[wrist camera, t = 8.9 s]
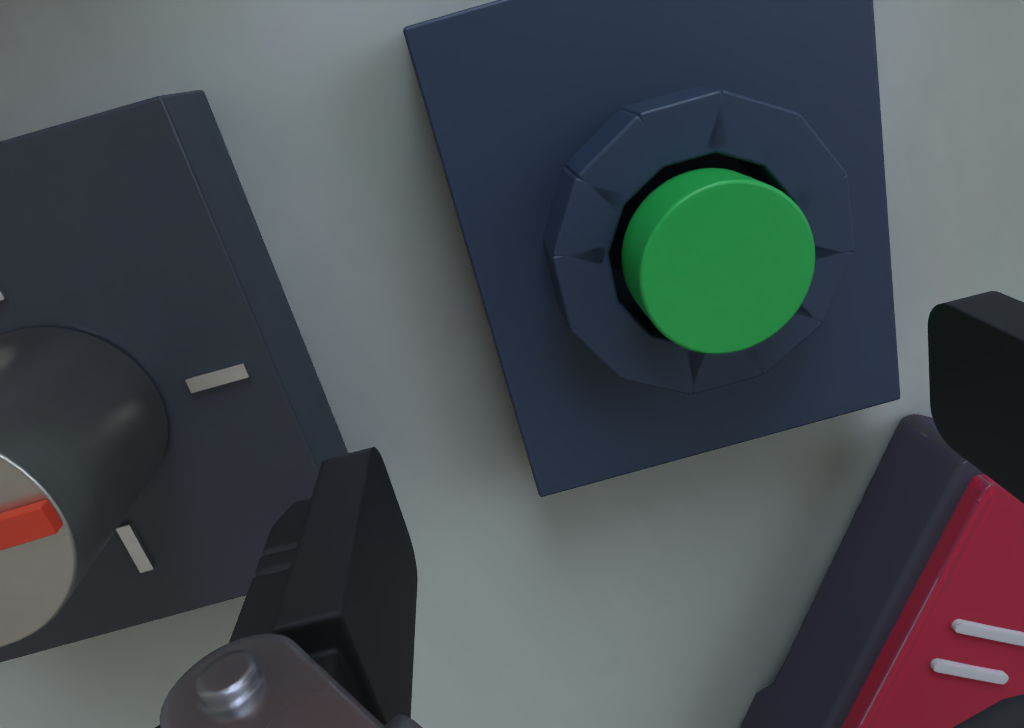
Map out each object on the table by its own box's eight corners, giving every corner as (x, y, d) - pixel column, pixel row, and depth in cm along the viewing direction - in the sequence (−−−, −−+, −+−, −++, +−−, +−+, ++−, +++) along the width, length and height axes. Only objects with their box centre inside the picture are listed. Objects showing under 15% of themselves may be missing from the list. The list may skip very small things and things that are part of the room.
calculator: (1313, 546, 22) (1055, 922, 26) (1174, 475, 26) (970, 810, 30) (986, 464, 20) (765, 886, 24) (891, 401, 24) (716, 771, 28)
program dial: (23, 527, 19) (-125, 695, 14) (-85, 360, 17) (-300, 485, 12) (202, 473, 19) (116, 624, 14) (112, 300, 17) (-25, 401, 12)
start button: (605, 193, 16) (623, 208, 15) (770, 147, 16) (806, 157, 15) (637, 345, 18) (657, 375, 16) (790, 303, 18) (825, 328, 16)
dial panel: (-195, 203, 18) (-316, 231, 15) (203, 88, 18) (158, 95, 15) (48, 591, 23) (-9, 669, 20) (368, 503, 23) (357, 569, 20)
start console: (406, 30, 18) (397, 24, 14) (818, -88, 18) (917, -125, 14) (531, 458, 23) (548, 537, 19) (860, 368, 22) (942, 430, 19)
